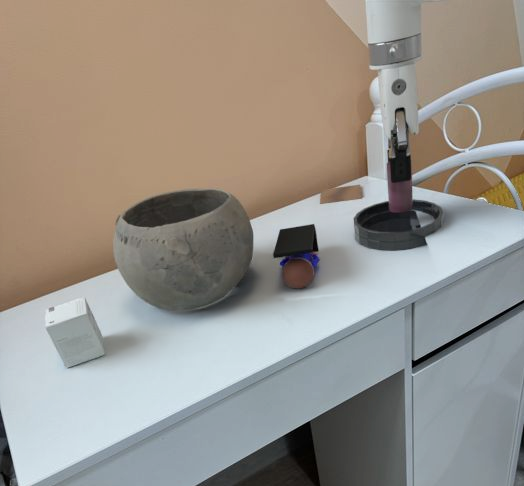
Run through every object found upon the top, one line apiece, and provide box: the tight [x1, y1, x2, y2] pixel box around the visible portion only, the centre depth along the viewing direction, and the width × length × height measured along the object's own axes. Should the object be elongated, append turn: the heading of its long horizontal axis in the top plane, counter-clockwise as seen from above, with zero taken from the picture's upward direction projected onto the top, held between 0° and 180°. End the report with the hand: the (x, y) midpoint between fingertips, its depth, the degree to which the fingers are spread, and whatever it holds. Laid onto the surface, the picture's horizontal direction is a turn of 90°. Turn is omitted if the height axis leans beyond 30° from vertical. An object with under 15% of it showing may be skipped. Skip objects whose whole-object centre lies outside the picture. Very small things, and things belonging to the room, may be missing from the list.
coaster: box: [319, 184, 363, 205], centre depth 110 cm, size 9×9×1 cm
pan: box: [353, 199, 445, 251], centre depth 88 cm, size 15×15×4 cm
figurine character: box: [272, 223, 320, 290], centre depth 82 cm, size 7×8×15 cm
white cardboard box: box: [44, 296, 106, 369], centre depth 73 cm, size 6×6×7 cm
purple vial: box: [386, 148, 413, 213], centre depth 83 cm, size 4×4×11 cm
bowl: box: [112, 187, 255, 311], centre depth 82 cm, size 23×23×15 cm
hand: (399, 175), depth 83 cm, fingers closed on purple vial, 4 cm apart
